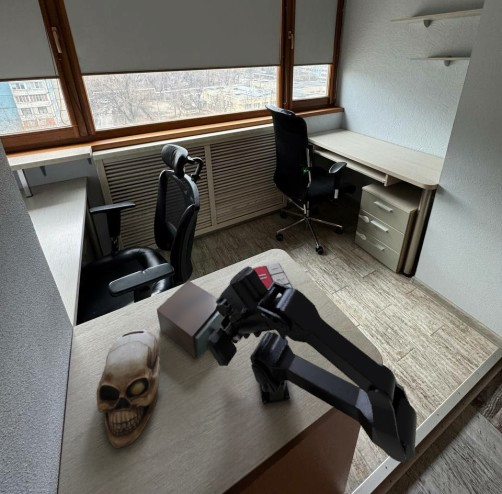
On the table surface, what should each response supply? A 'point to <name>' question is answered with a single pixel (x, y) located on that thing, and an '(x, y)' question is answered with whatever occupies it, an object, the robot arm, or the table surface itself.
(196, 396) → the table surface
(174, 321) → the cabinet
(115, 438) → the coin bank
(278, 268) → the calculator
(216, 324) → the drawer
